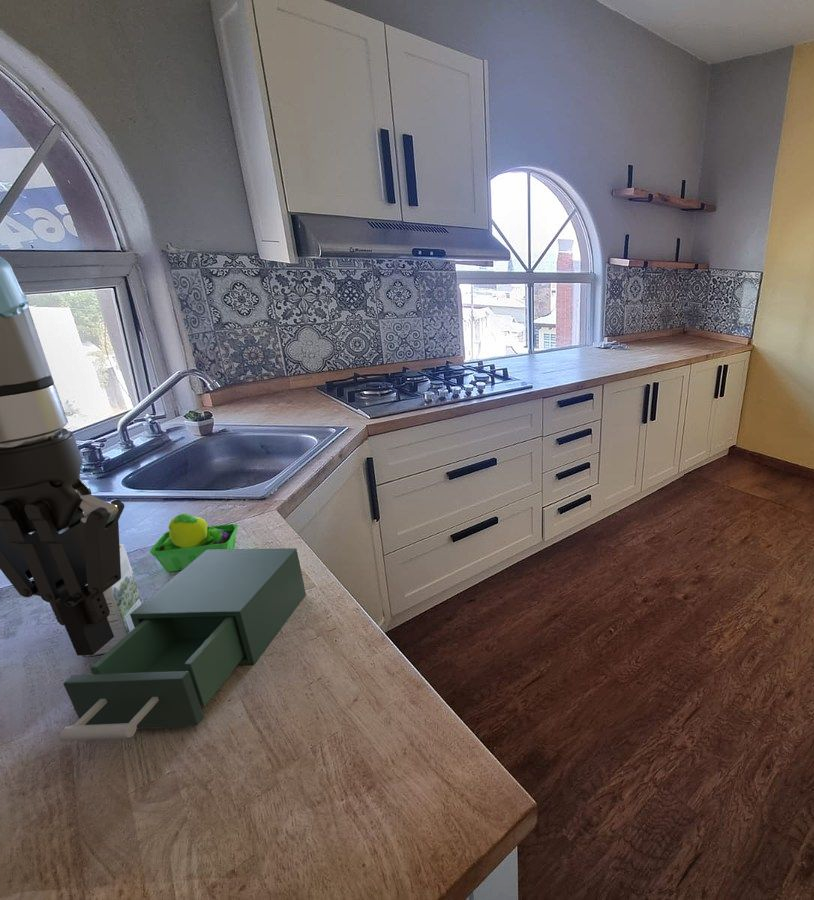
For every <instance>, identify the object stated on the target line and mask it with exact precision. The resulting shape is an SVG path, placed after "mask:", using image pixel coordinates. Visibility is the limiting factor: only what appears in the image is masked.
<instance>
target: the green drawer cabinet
mask: <svg viewBox="0 0 814 900" xmlns="http://www.w3.org/2000/svg"><path fill="white" fill-rule="evenodd" d="M300 563H301V562H300V558H299V554H298V548H296V547H294V548H292V547H289V548H235V549H212V550H206V551H205V552H204V553H202V554H201V555H200V556H199V557H198V558H196V559H195V560H194V561H193V562H192V563H190V564H189V565H188V566H187V567H186V568H184V569H183V570H180V571H179V572H178V573H177V574H176V575H175V576H173V577H172V578H171V579H170V580H168V582H166V583H165V584H164V585H162V586H161V587H160V588H159V589H158V590H157V591H156V592H154V593H153V594H152V595H151V596H150V597H148V598H147V599H146V600H145V601H143V604H141V605H140V606H139V607H138V608H137V609H135V610H134V611H133V612H132V613H131V614H130V616H131V619H132V622H133V625H134V627H136V626H138V625H139V624H140V623H141V622H142V621H143V620H144V619H146V618H183V617H221V616H235V617H236V621H237V624H238V628H239V632H240V635H241V639H242V643H243V646H244V650H245V656H244V657H243V658H242V659H241V661H240V662H239V663H238V665H237V666H254V665H256V663H257V662H258V660H259V659H260V658H261V656H262V655H263V654H264V652H265V651H266V650H267V649H268V647H269V646H270V644H271V643H272V642H273V640H274V639H275V638H276V636H277V635H278V633H279V632H280V631H281V629H282V628H283V627H284V625H285V624H286V623H287V622H288V620H289V618H290V617H291V616H292V614H293V613H294V612H295V611H296V609H297V608H298V607H299V605H300V603H301V602H302V601H303V599H304V598H305V597H306V596H307V593H306V588H305V583H304V578H303V572H302V569H301V564H300Z"/></svg>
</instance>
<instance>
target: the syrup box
mask: <svg viewBox="0 0 814 900" xmlns="http://www.w3.org/2000/svg"><path fill="white" fill-rule="evenodd" d="M119 545H120V565H121V579H120V580H119V581H118V582H117V583H115V584H114V585H113V586H111V587H110V588H109V589H107V590H106V591H104V592H103V594H104V597H105V599H106V602H107V605H108V607H109V610H110V614H109V616H108V617H107V619H108V622H109V624H110V627H111V629H112V632H113V635H114V637H113V638H112V639H111V640H110V641H109V642H108V643H106V644H105V645H104V646H103V647H102V648H101V649H99V650H98V651H97V652H96V653H95V654H94V655H80V656H81V657H82V658H89V657H94V656H100V655H105V654H106V653H107V652H108V651H109V650H110V649H111V648H113V647H114V646H115V645H116V644H117V643H118V642H119V641H120V640H122V639H123V638H124V637H125V636H126V635H127V634H128V633H130V632H131V631H132V630H133V629H134V628H135V627H134V625H133V622H132V619H131V616H130V614H131V613H132V612H133V611H134V610H135V609H137V608H138V607H139V606H140V605H141V604H143V603H144V601H143V600H142V597H141V593H140V590H139V586H138V583H137V580H136V577H135V575H134V572H133V568H132V566H131V563H130V560H129V559H130V558H129V557H128V553H127V551H126V548H125V543H119Z"/></svg>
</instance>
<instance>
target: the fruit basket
mask: <svg viewBox="0 0 814 900" xmlns="http://www.w3.org/2000/svg"><path fill="white" fill-rule="evenodd" d="M238 527H239V525H238V523H228V524H219V525H211V526H208V522H207V521H206V520H205V519H204V518H202V517H199V516H193V515H191V514H190V513H179V514H178V515H176V516H175V517H173V518H172V519H171V520H170V522H169V524H168V531H166V532H164V533H163V534H162V535H161V536H160V537H159V539H158V540H157V541H156V543H155V544H153V546H152V547H151V548H150V549H149V554H151V555H152V556H153V557H155V559H156V560H157V561H158V562H159V564H160V565H161V566H162V567H163V569H164V570H165V571H166V572H167V573H172V572H173V573H174V572H178V571H179V572H180V571H182V570H183V569H184V568H186V567H187V566H188V565H189V564H190V563H192V562H193V561H194V560H195V559H196V558H198V557H199V556H200V555H201V554H202V553H204V552H205V551H206V550H212V549H236V542H237V541H236V540H237V531H238Z"/></svg>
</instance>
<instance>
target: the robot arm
mask: <svg viewBox="0 0 814 900" xmlns="http://www.w3.org/2000/svg"><path fill="white" fill-rule="evenodd" d="M29 303H30V302H29V299H28V298H27V295H26V294H25V293H24V292H23V290H22V288H21V286H20V283H19V282H18V279H17V277H16V275H15V273H14V270H13V267H12V266H11V264H10V263H9V261H7V260H6V259H5V258H3V257H2V256H0V571H1V572H2V573H3V575H4V576H5V577H6V579H7V580H8V581H9V583H10V584H11V585H12V586H13V588H14V589H15V591H17V593H18V594H19V595H20V596H21V597H24V598H31V597H33V596H37V597H40V598H41V599H42V601H44V602H46V603H49V604H50V607H51V609H52V612H53V614H54V617H55V619H56V621H57V622H58V624H60V625H61V626H64V628H65V630H66V632H67V635H68V637H69V640H70V642H71V644H72V647H73V649H74V651H75V653H76V656H81V655H94V654H95V653H96V652H97V651H98V650H99V649H101V648H102V647H103V646H104V645H105V644H106V643H108V642H109V641H110V640H111V639H112V638H113V637H114V635H113V632H112V629H111V627H110V624H109V622H108V619H107V617H108V616H109V614H110V610H109V607H108V605H107V602H106V599H105V597H104V594H103V592H104V591H106V590H107V589H109V588H110V587H111V586H113V585H114V584H115V583H117V582H118V581H119V580H120V579H121V565H120V545H119V544H120V527H119V526H120V525H119V524H120V523H119V521H120V518H121V516H122V513H123V511H124V509H125V503H124V502H123V501H122V500H120V499H112V500H110V501H108V502H107V501H106V500H103V499H101V498H99V497H96V496H94V495H92V490H91V488H90V486H89V485H88V484H87V483H85V482H84V480H83V479H82V477H81V469H82V465H83V463H84V462H83V461H84V460H83V457H82V455H81V452H80V449H79V446H78V443H77V441H76V438H75V435H74V433H73V431H71V430H69V429H68V428H65V427H66V426H67V425H68V423H69V420H68V418H67V415H66V412H65V409H64V405H63V403H62V400H61V398H60V395H59V392H58V389H57V387H56V383H55V380H54V378H53V376H52V372H51V369H50V367H49V364H48V361H47V360H48V359H47V358H46V354H45V351H44V349H43V345H42V343H41V340H40V337H39V335H38V334H39V333H38V331H37V328H36V325H35V323H34V319H33V316H32V313H31V310H30V304H29ZM31 579H32V580H31ZM94 656H95V655H94Z"/></svg>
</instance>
